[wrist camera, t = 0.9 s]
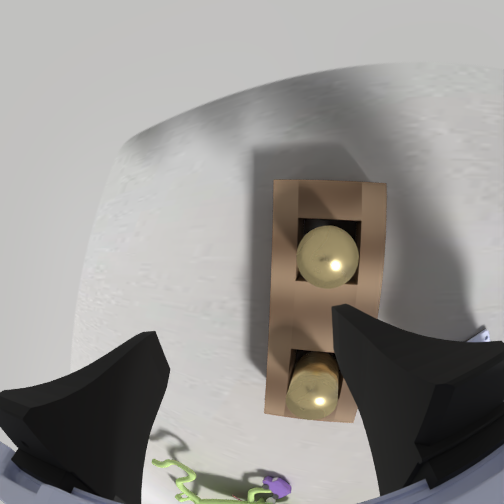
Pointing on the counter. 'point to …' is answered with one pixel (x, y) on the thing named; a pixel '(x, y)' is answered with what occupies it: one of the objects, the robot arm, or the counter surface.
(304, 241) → the peg
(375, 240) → the block
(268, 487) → the figurine
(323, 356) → the peg
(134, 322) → the counter surface
